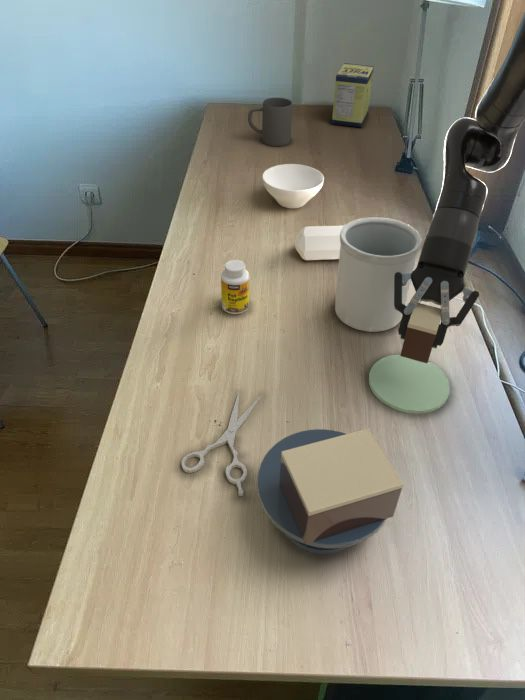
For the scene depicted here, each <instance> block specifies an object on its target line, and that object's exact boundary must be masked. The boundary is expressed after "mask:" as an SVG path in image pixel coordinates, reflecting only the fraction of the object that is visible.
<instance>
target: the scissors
mask: <svg viewBox="0 0 525 700" xmlns="http://www.w3.org/2000/svg"><path fill="white" fill-rule="evenodd" d="M261 397H262V395H260V396H259V397H257V399H256V400H255V401H254V402H253V403H252V404H251V405H250V406H249V407H248V408H247V409H246V410H245V412H244V413H242V414H241V416H239V417H238V414H239V413H238V412H239V401H240V391H238V393H237V396H236V400H235V402H234V406H233V407H232V408H233V409H232V411H231V415H230V419H229V423H228V426H227V429H226V430H225V431H224V433H223V434H222V435H221V436H220V438H218V439H217V440H216V441H215V442H214V443H212V444H207V445H206V447H205V449H203V450H199V451H191V452H190V453H187V454H186V455H185V456H184V457H183V458H182V460H181V468H182V470H183V472H185V473H188V474H191V473H196V472H197V471H199V470H201V469H202V468H203V467H204V466H205V457H206V456H207V454H208V453H209V452H210V451H212V450H214V449H217V448H218V447H221V446H223V445H225V444H227V445H228V447H229V449H230V451H231V453H232V455H233V459H232V462H231V463H230V464H228V465H227V466H226V467H225V477H226V479H227V480H228V482H229V483H231V484H233V485H236V487H237V490H238V491H237V492H238V496H239V497H243V496H244V489H243V488H242V484H243V483H244V482H245V481H246V479H247V475H248V470H247V467H246V466H245V464H244V463H242V462H241V461H239V459H238V455H239V453H238V451H237V450H236V449H235V447H234V446H235V445H234V444H235V440H236V433H237V432H238V430H239V429H240V428H241V426H242V425H243V424H244V423H245V421H246V420H247V418H248V417H249V416H250V414H251V412H252V411H253V410H254V408H255V407H256V405H257V404H258V402H259V401H260V399H261ZM191 458H199V461H198V463H197V464H196V465H194V466H192V467H188V466H187V465H186V462H187V461H188V460H190V459H191ZM234 468H235V469H236V468H239V469H241V471H242V475H241V477H239V478H234V477H232V476H231V471H232V470H233V469H234Z"/></svg>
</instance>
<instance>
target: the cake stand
mask: <svg viewBox="0 0 525 700" xmlns="http://www.w3.org/2000/svg"><path fill="white" fill-rule="evenodd" d="M394 468H395V467H393V465H392V464H391V462H390V460H389V459H388V457H387V456H386V453H385V452H384V450H383V449H382V447H381V446H380V444H379V442H378V441H377V440H376V438H375V436H374V434H373V433H372V431H371V430H370V428H365V429H361V430H358V431H353V432H350V433H345V432H342V431H338V430H333V429H322V428H321V429H318V428H315V429H306V430H301V431H298V432H295V433H292V434H290V435H288V436H286V437H284V438H282V439H280V440H279V441H277V443H275V444H274V445H273V446H272V447H271V448H269V450H268V451H267V453H266V454H265V455H264V457H263V458H262V461H261V462H260V466H259V469H258V473H257V494H258V499H259V502H260V506H261V507H262V509H263V511H264V513H265V514H266V516H267V518H268V519H269V520H270V521H271V522H272V524H273V525H274V526H275V527H276V528H277V529H278V530H280V531H281V533H283V534H284V535H285V536H286V538H287V539H288V540H289V541H290V542H291V543H292V544H294V545H295V546H297V548H299V549H301V550H304V551H306V552H308V553H312V554H317V555H331V554H335V553H340V552H342V551H344V550H346V549H348V548H349V547H351V546H355V545H358V544H361V543H363V542H365V541H367V540H368V539H370V538H371V537H373V536H374V535H375V534H377V533H378V532H379V531H380V530H381V528H383V526H384V525H385V524H386V522H387V521H388V519H390V518H393V517H394V515H395V512H396V509H397V506H398V502H399V499H400V496H401V493H402V490H403V487H404V483H403V482H402V479H401V478H400V476H399V475H398V473H397V471H396V470H395V469H394Z"/></svg>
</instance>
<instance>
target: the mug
mask: <svg viewBox="0 0 525 700" xmlns="http://www.w3.org/2000/svg"><path fill="white" fill-rule="evenodd" d="M254 112H262V119H261V122H262V123H261V126H262V128H261V129H259V128H258V127H257V126H256V125H255V124H254V123H253V119H252V118H253V113H254ZM292 119H293V101H292V100H290V99H288V98H284V97H269V98H266V99H264V100H263V101H262V107H253V108H251V109H249V110H248V114H247V121H248V125H249V127H250V128H251V129H252V130H253V131H254V132H255V133H257V134H260V135H261V136H262V143H264V144H265V145H267V146H271V147H284V146H287V145H289V144H290V142H291V139H292V138H291V137H292V123H293V121H292Z"/></svg>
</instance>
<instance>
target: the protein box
mask: <svg viewBox="0 0 525 700" xmlns="http://www.w3.org/2000/svg"><path fill="white" fill-rule="evenodd" d="M374 70H375V66H374V65H368V64H367V65H366V64H358V63H347V62H344V63H343V65H342V66H341V68H340V69H339V70H338V72H337V74H336V76H335V83H334V96H333V105H332V116H331V117H332V118H331V124H332V125H338V126H346V127H355V128H362V126H363V124H364V122H365V120H366V118H367V115H368V113H369V107H370V99H371V93H372V85H373V77H374V72H375V71H374Z"/></svg>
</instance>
